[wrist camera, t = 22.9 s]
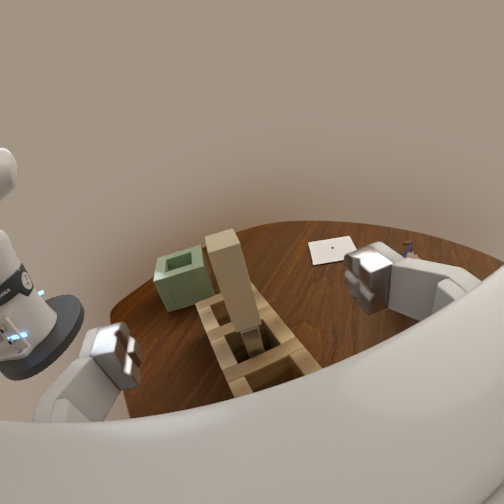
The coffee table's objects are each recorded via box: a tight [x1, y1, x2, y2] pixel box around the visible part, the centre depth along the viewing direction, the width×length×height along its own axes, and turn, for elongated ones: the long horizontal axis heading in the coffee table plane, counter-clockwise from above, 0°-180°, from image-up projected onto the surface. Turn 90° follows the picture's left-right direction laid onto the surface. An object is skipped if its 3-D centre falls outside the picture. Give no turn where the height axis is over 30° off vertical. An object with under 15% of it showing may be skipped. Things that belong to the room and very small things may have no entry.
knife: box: [205, 229, 265, 359], centre depth 25 cm, size 2×4×16 cm, turn 13°
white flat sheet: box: [308, 236, 357, 265], centre depth 47 cm, size 8×8×1 cm
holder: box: [153, 245, 215, 312], centre depth 44 cm, size 8×8×6 cm
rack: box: [195, 282, 322, 398], centre depth 27 cm, size 20×8×5 cm, turn 22°
